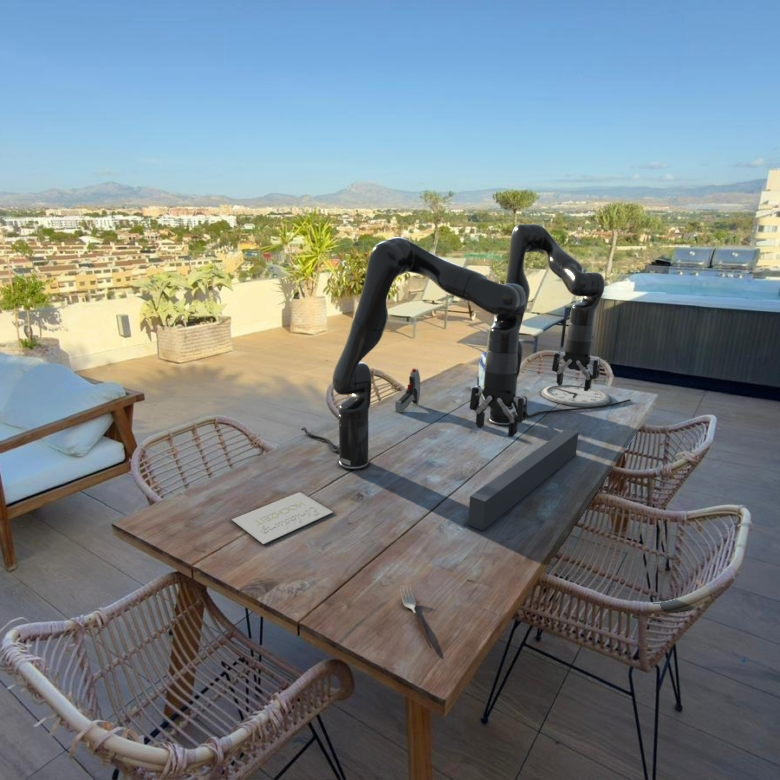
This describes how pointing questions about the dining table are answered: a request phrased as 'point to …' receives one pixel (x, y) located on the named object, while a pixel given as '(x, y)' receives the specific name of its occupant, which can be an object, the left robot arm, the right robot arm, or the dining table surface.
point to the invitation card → (281, 517)
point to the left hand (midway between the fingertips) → (495, 431)
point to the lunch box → (482, 371)
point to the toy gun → (410, 392)
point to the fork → (411, 605)
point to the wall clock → (575, 395)
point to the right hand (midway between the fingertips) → (572, 387)
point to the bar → (520, 479)
